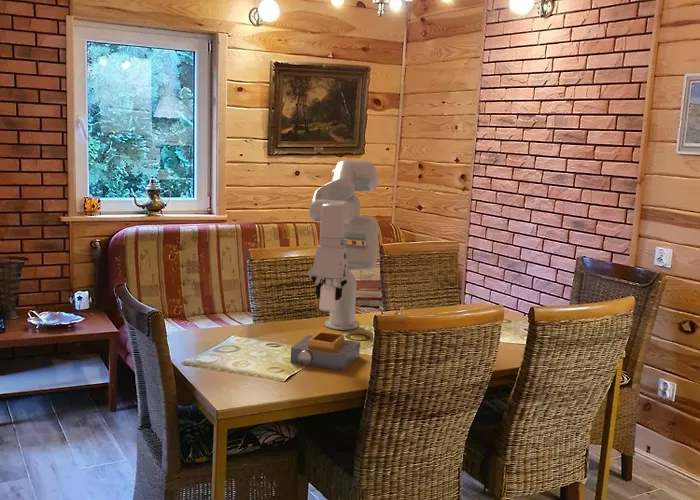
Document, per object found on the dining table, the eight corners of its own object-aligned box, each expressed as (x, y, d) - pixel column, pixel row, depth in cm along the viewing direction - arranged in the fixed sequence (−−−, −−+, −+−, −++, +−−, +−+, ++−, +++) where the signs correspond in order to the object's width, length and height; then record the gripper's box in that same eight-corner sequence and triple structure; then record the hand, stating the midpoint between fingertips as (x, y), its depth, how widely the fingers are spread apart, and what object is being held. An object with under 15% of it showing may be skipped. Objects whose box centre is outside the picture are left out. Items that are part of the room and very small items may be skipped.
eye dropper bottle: (328, 313, 228) (330, 275, 226) (317, 309, 232) (318, 272, 230) (338, 311, 231) (340, 274, 229) (327, 307, 235) (328, 271, 233)
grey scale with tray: (309, 348, 246) (310, 326, 244) (360, 355, 240) (361, 333, 239) (289, 363, 228) (290, 340, 227) (343, 372, 223) (344, 348, 222)
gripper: (360, 243, 229) (357, 299, 232) (310, 238, 234) (307, 292, 237) (353, 246, 222) (350, 304, 225) (301, 241, 227) (299, 297, 230)
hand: (328, 297), depth 231 cm, fingers closed on eye dropper bottle, 5 cm apart
